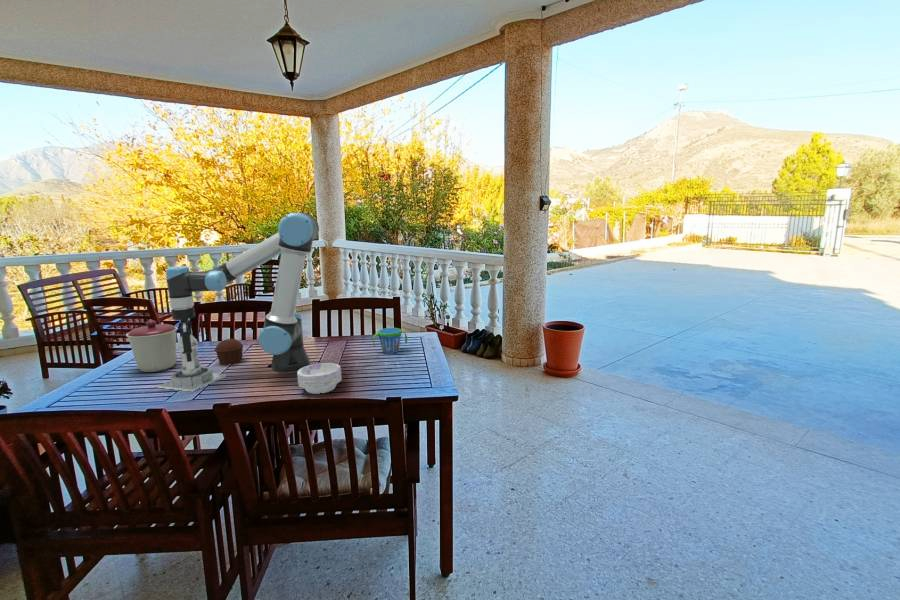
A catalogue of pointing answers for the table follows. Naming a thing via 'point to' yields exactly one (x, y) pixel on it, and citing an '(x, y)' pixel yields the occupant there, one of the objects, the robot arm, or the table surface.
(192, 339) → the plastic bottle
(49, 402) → the table surface
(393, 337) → the snack cup
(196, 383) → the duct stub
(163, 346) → the canister
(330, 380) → the paper bowls
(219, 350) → the muffin
